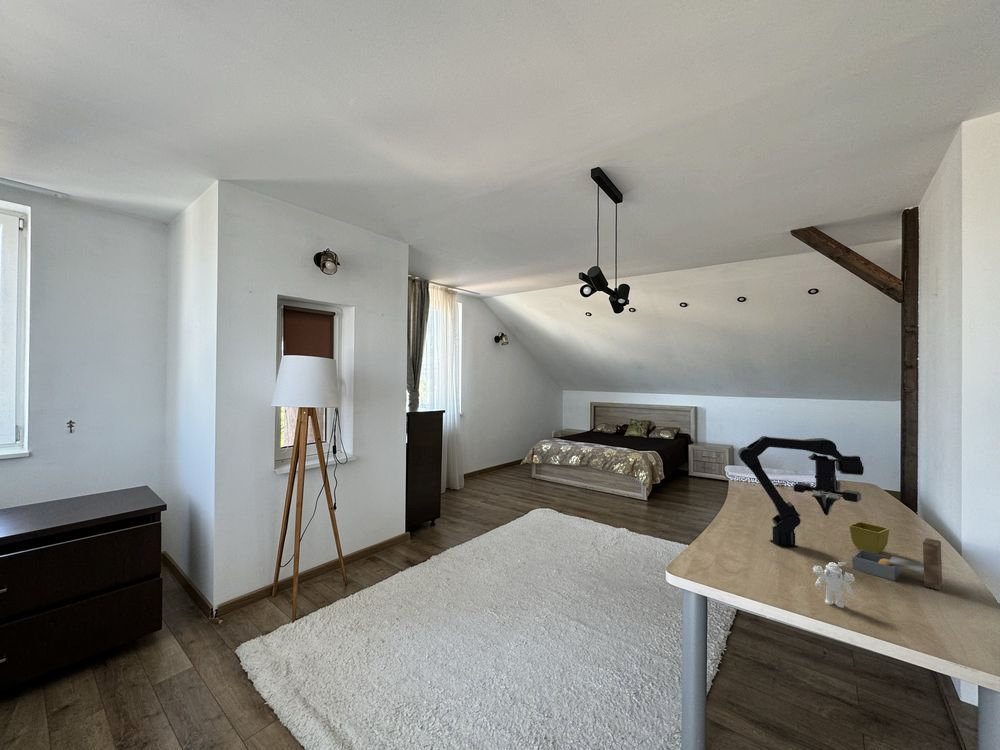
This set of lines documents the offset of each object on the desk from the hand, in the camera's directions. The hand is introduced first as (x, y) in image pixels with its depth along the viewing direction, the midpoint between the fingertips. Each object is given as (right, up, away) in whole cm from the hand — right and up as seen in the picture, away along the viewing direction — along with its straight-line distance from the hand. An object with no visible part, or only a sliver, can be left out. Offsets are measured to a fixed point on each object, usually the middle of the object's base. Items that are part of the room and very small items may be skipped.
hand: (826, 515), depth 146 cm
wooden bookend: (+8, -12, -23) cm, 27 cm away
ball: (+4, -10, -18) cm, 21 cm away
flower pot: (+15, -13, -1) cm, 20 cm away
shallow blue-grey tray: (+3, -13, -16) cm, 21 cm away
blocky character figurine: (-28, -12, -36) cm, 47 cm away
